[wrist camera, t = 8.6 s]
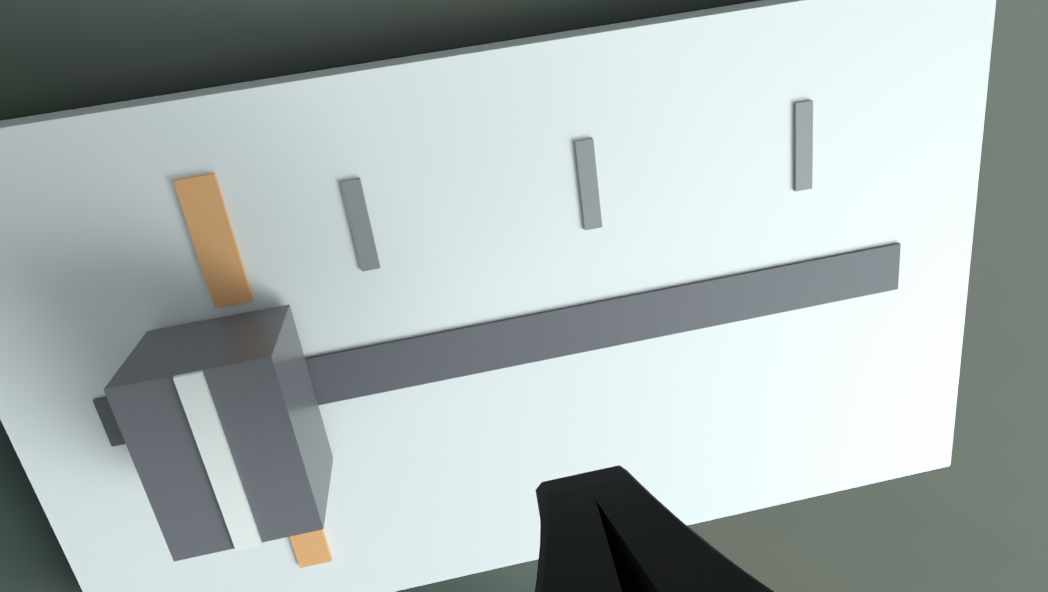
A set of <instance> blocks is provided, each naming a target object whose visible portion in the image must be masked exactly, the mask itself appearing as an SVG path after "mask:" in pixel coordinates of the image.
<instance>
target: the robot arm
mask: <svg viewBox="0 0 1048 592" xmlns="http://www.w3.org/2000/svg"><path fill="white" fill-rule="evenodd" d="M536 496H537V502H538V509H539V515H540V550H539V561H538V571H537V581H536V588H535V592H774V591H772V590H771V589H769V588H768V587H766V586H765V585H764V584H762V583H761V582H759V581H758V580H756V579H755V578H754V577H752V576H751V575H749V574H748V573H747V572H745V571H744V570H743V569H741V568H740V567H738V566H737V565H736V564H734V563H733V562H732V561H730V560H729V559H728V558H726V557H725V556H724V555H723V554H721V553H720V552H719V551H717V550H716V549H715V548H714V547H712V546H711V545H710V544H709V543H707V542H706V541H705V540H704V539H703V538H701V537H700V536H699V535H698V534H696V533H695V532H694V531H693V530H692V529H690V528H689V527H688V526H687V525H685V524H684V523H683V522H682V521H681V520H680V519H679V518H677V517H676V516H675V515H674V514H673V513H672V512H671V511H669V510H668V509H667V508H666V507H665V506H664V505H663V504H662V503H661V502H659V501H658V500H657V499H656V498H655V497H654V496H653V495H652V494H651V493H650V492H649V491H648V490H647V489H646V488H645V487H643V486H642V485H641V484H640V483H639V482H638V481H637V480H636V479H635V478H634V477H633V476H632V475H631V474H630V473H629V472H628V471H627V470H626V469H624V468H623V467H621V466H620V465H618V466H613V467H609V468H604V469H599V470H595V471H590V472H586V473H581V474H576V475H572V476H567V477H563V478H558V479H553V480H549V481H544V482H541V484H540V485H539V486H538V487H537V489H536Z"/></svg>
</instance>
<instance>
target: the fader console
mask: <svg viewBox="0 0 1048 592" xmlns="http://www.w3.org/2000/svg"><path fill="white" fill-rule="evenodd" d="M995 5H996V0H760V1H754V2H748V3H741V4H735V5H729V6H722V7H716V8H710V9H703V10H697V11H691V12H684V13H678V14H672V15H666V16H659V17H653V18H647V19H640V20H634V21H628V22H621V23H615V24H609V25H602V26H596V27H590V28H583V29H577V30H571V31H564V32H558V33H552V34H545V35H539V36H533V37H526V38H520V39H514V40H508V41H501V42H495V43H489V44H482V45H476V46H470V47H463V48H457V49H451V50H444V51H438V52H432V53H425V54H419V55H413V56H406V57H400V58H394V59H387V60H381V61H375V62H368V63H362V64H356V65H349V66H343V67H337V68H331V69H324V70H318V71H312V72H305V73H299V74H293V75H286V76H280V77H274V78H267V79H261V80H255V81H248V82H242V83H236V84H229V85H223V86H217V87H210V88H204V89H198V90H191V91H185V92H179V93H173V94H166V95H160V96H154V97H147V98H141V99H135V100H128V101H122V102H116V103H109V104H103V105H97V106H90V107H84V108H78V109H71V110H65V111H59V112H52V113H46V114H40V115H33V116H27V117H21V118H14V119H8V120H2V121H0V420H1V422H2V424H3V426H4V428H5V430H6V432H7V434H8V436H9V438H10V441H11V443H12V445H13V447H14V449H15V451H16V453H17V455H18V457H19V459H20V461H21V464H22V466H23V468H24V470H25V472H26V474H27V476H28V478H29V480H30V482H31V484H32V487H33V489H34V491H35V493H36V495H37V497H38V499H39V501H40V503H41V505H42V507H43V510H44V512H45V514H46V516H47V518H48V520H49V522H50V524H51V526H52V528H53V530H54V533H55V535H56V537H57V539H58V541H59V543H60V545H61V547H62V549H63V551H64V553H65V556H66V558H67V560H68V562H69V564H70V566H71V568H72V570H73V572H74V574H75V576H76V579H77V581H78V583H79V585H80V587H81V589H82V591H83V592H395V591H399V590H404V589H408V588H412V587H417V586H421V585H426V584H430V583H434V582H439V581H443V580H448V579H452V578H457V577H461V576H465V575H470V574H474V573H479V572H483V571H488V570H492V569H496V568H501V567H505V566H510V565H514V564H519V563H523V562H527V561H532V560H536V559H539V550H540V515H539V509H538V502H537V496H536V489H537V487H538V486H539V485H540V484H541V482H544V481H549V480H553V479H558V478H563V477H567V476H572V475H576V474H581V473H586V472H590V471H595V470H599V469H604V468H609V467H613V466H618V465H620V466H621V467H623V468H624V469H626V470H627V471H628V472H629V473H630V474H631V475H632V476H633V477H634V478H635V479H636V480H637V481H638V482H639V483H640V484H641V485H642V486H643V487H645V488H646V489H647V490H648V491H649V492H650V493H651V494H652V495H653V496H654V497H655V498H656V499H657V500H658V501H659V502H661V503H662V504H663V505H664V506H665V507H666V508H667V509H668V510H669V511H671V512H672V513H673V514H674V515H675V516H676V517H677V518H679V519H680V520H681V521H682V522H683V523H684V524H685V525H691V524H695V523H700V522H704V521H709V520H713V519H718V518H722V517H726V516H731V515H735V514H740V513H744V512H749V511H753V510H757V509H762V508H766V507H771V506H775V505H779V504H784V503H788V502H793V501H797V500H802V499H806V498H810V497H815V496H819V495H824V494H828V493H833V492H837V491H841V490H846V489H850V488H855V487H859V486H863V485H868V484H872V483H877V482H881V481H886V480H890V479H894V478H899V477H903V476H908V475H912V474H917V473H921V472H925V471H930V470H934V469H939V468H943V467H948V466H950V464H951V454H952V444H953V434H954V423H955V413H956V403H957V393H958V383H959V372H960V362H961V352H962V342H963V332H964V321H965V311H966V301H967V291H968V281H969V270H970V260H971V250H972V240H973V230H974V219H975V209H976V199H977V189H978V179H979V168H980V158H981V148H982V138H983V128H984V118H985V107H986V97H987V87H988V77H989V67H990V56H991V46H992V36H993V26H994V16H995ZM289 304H290V307H291V311H292V315H293V318H294V322H295V325H296V329H297V332H298V336H299V339H300V343H301V346H302V350H303V353H304V357H305V360H306V364H307V367H308V371H309V374H310V378H311V381H312V385H313V388H314V392H315V396H316V399H317V403H318V406H319V410H320V413H321V417H322V420H323V424H324V427H325V431H326V434H327V438H328V441H329V445H330V448H331V452H332V455H333V463H332V471H331V478H330V486H329V493H328V500H327V508H326V515H325V523H324V529H322V530H318V531H313V532H309V533H304V534H299V535H295V536H290V537H285V538H281V539H276V540H272V541H267V542H262V544H261V546H258V547H254V548H249V549H244V550H240V551H236V550H235V549H230V550H225V551H221V552H216V553H211V554H207V555H202V556H198V557H193V558H188V559H184V560H179V561H173V558H172V556H171V553H170V551H169V549H168V546H167V544H166V541H165V539H164V536H163V534H162V531H161V529H160V527H159V524H158V522H157V519H156V517H155V514H154V512H153V509H152V507H151V504H150V502H149V500H148V497H147V495H146V492H145V490H144V487H143V485H142V482H141V480H140V478H139V475H138V473H137V470H136V468H135V465H134V463H133V460H132V458H131V456H130V453H129V451H128V448H127V446H126V443H125V441H124V438H123V436H122V434H121V431H120V429H119V426H118V424H117V421H116V419H115V416H114V414H113V412H112V409H111V407H110V404H109V402H108V399H107V397H106V394H105V392H104V388H105V387H106V385H107V384H108V383H109V381H110V380H111V379H112V377H113V376H114V375H115V373H116V372H117V371H118V369H119V368H120V367H121V365H122V364H123V363H124V361H125V360H126V359H127V357H128V356H129V355H130V353H131V352H132V351H133V349H134V348H135V347H136V345H137V344H138V343H139V341H140V340H141V339H142V337H143V336H144V335H145V333H146V332H147V331H150V330H155V329H161V328H166V327H171V326H177V325H182V324H187V323H193V322H198V321H203V320H209V319H214V318H219V317H225V316H230V315H235V314H241V313H246V312H252V311H257V310H262V309H268V308H273V307H278V306H284V305H289Z"/></svg>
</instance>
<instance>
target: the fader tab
mask: <svg viewBox="0 0 1048 592" xmlns="http://www.w3.org/2000/svg"><path fill="white" fill-rule="evenodd" d="M104 392H105V394H106V397H107V399H108V402H109V404H110V407H111V409H112V412H113V414H114V416H115V419H116V421H117V424H118V426H119V429H120V431H121V434H122V436H123V438H124V441H125V443H126V446H127V448H128V451H129V453H130V456H131V458H132V460H133V463H134V465H135V468H136V470H137V473H138V475H139V478H140V480H141V482H142V485H143V487H144V490H145V492H146V495H147V497H148V500H149V502H150V504H151V507H152V509H153V512H154V514H155V517H156V519H157V522H158V524H159V527H160V529H161V531H162V534H163V536H164V539H165V541H166V544H167V546H168V549H169V551H170V553H171V556H172V558H173V561H179V560H184V559H188V558H193V557H198V556H202V555H207V554H211V553H216V552H221V551H225V550H230V549H235V550H236V551H240V550H244V549H249V548H254V547H258V546H261V544H262V542H267V541H272V540H276V539H281V538H285V537H290V536H295V535H299V534H304V533H309V532H313V531H318V530H322V529H324V523H325V515H326V508H327V500H328V493H329V486H330V478H331V471H332V463H333V455H332V452H331V448H330V445H329V441H328V438H327V434H326V431H325V427H324V424H323V420H322V417H321V413H320V410H319V406H318V403H317V399H316V396H315V392H314V388H313V385H312V381H311V378H310V374H309V371H308V367H307V364H306V360H305V357H304V353H303V350H302V346H301V343H300V339H299V336H298V332H297V329H296V325H295V322H294V318H293V315H292V311H291V307H290V304H289V305H284V306H278V307H273V308H268V309H262V310H257V311H252V312H246V313H241V314H235V315H230V316H225V317H219V318H214V319H209V320H203V321H198V322H193V323H187V324H182V325H177V326H171V327H166V328H161V329H155V330H150V331H147V332H146V333H145V335H144V336H143V337H142V339H141V340H140V341H139V343H138V344H137V345H136V347H135V348H134V349H133V351H132V352H131V353H130V355H129V356H128V357H127V359H126V360H125V361H124V363H123V364H122V365H121V367H120V368H119V369H118V371H117V372H116V373H115V375H114V376H113V377H112V379H111V380H110V381H109V383H108V384H107V385H106V387H105V388H104Z"/></svg>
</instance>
